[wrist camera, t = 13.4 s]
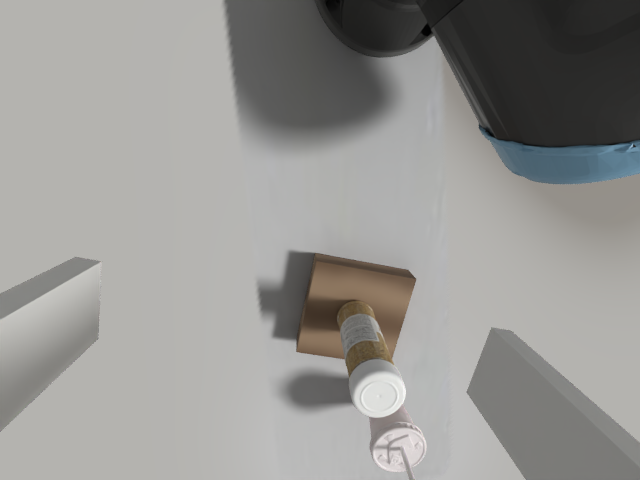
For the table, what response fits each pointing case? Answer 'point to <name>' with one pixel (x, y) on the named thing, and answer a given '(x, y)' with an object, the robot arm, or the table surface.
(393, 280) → the walnut base
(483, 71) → the robot arm
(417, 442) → the smoothie
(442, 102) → the table surface
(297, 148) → the table surface
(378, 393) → the sprinkles bottle
